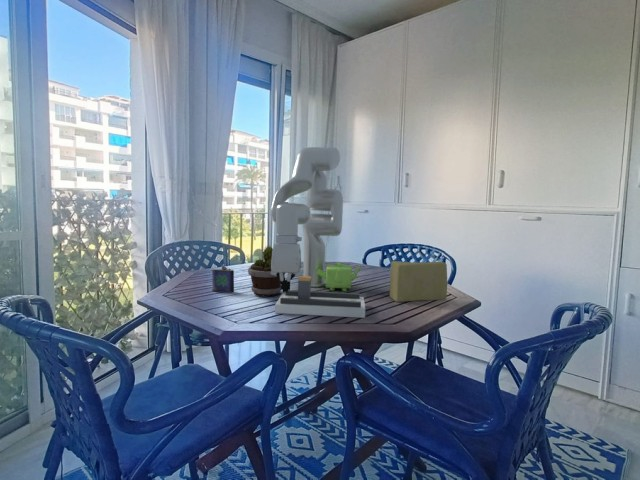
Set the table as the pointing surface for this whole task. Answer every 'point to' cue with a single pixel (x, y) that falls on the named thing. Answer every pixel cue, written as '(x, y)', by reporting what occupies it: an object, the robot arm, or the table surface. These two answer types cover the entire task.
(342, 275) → the kettle
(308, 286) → the block
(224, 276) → the flask
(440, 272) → the cheese
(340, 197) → the robot arm
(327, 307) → the breaker panel
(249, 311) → the table surface
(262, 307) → the table surface
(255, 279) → the flowerpot
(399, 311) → the table surface
